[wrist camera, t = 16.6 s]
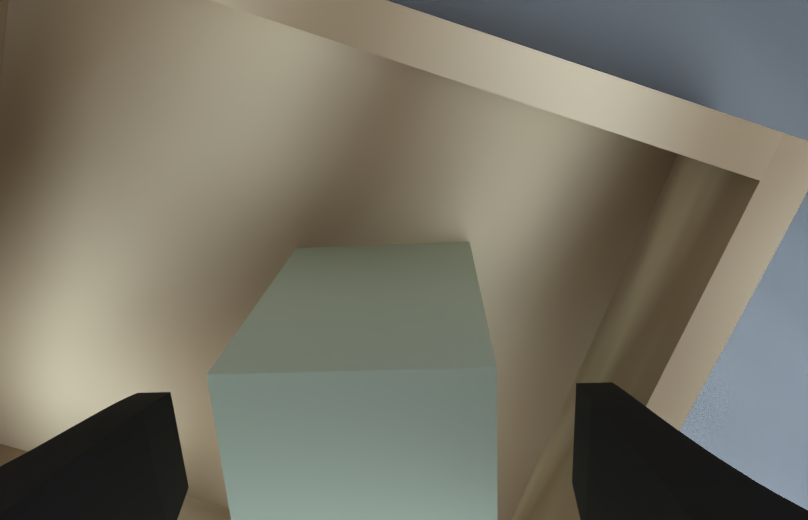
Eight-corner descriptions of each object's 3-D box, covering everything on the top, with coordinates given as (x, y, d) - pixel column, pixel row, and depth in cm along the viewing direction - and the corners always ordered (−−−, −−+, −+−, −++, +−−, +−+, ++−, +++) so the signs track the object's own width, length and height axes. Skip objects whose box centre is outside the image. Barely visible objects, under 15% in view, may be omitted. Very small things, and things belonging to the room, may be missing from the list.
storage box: (718, 123, 14) (830, 148, 10) (498, 590, 18) (517, 733, 14) (-1, -116, 13) (-186, -192, 9) (-49, 437, 17) (-187, 546, 13)
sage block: (469, 242, 14) (497, 367, 8) (472, 396, 15) (497, 597, 10) (296, 247, 14) (206, 375, 8) (313, 399, 15) (244, 600, 10)
